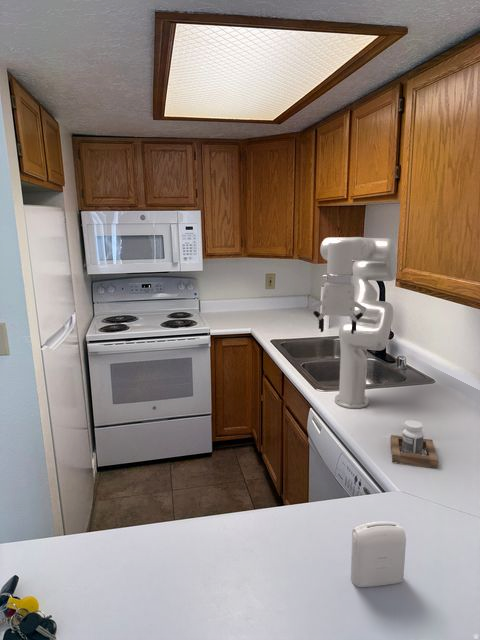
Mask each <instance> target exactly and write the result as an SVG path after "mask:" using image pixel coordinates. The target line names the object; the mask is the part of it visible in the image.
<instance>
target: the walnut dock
mask: <svg viewBox="0 0 480 640" xmlns="http://www.w3.org/2000/svg"><path fill="white" fill-rule="evenodd" d="M402 440H403V435H394V434H391V435H390V440H389V441H390V442H389V443H390V450H391V454H392V455H391V462H392V463H393V462H397V463H396V464H400V463H402V464H401V465H407V464H408V465H409V466H415V467H424V468H431V469H438V466H439V465H438V464H439V459H438V456H437V452H436V447H435V444H434V442H433V439H430V438H429V439H428V438H423V450H424V451H425V453H426V455H425V454H422V455H419V454H411V453H403V452H402V451H401V452H400V447H401V448H402Z"/></svg>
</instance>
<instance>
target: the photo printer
mask: <svg viewBox="0 0 480 640" xmlns="http://www.w3.org/2000/svg"><path fill="white" fill-rule="evenodd" d="M406 545H407V537H406V531H405V529H404V528H403V526H402V524H400V523H398V522H392V521H373V522H368V523H364V524H360V525H358V526H356V527H354V528H353V529H352V533H351V557H350V558H351V560H350V580H351V582H352V584H354V585H355V586H356V587H357V588H359V587H360V588H369V587H379V586H389V585H394V584H399V583H402V582H403V581H404V575H405V574H404V573H405V562H406V561H405V560H406V547H407V546H406Z"/></svg>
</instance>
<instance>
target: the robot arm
mask: <svg viewBox="0 0 480 640" xmlns="http://www.w3.org/2000/svg"><path fill="white" fill-rule="evenodd" d="M319 252H320V254H321V255H320V256H321V257H322V258H323V259H324V260H325V261H327V267H326V271H327V272H326V274H324V275H322V278H321V279H322V280H325V281H326V282H325V283H324V285H323V287H322V295H321V296H322V297H321V300H320V301H318V302H316V303H313V304H311V306H310V310H311V311H312V312H313V315H314V316H315V317H316V318H317V319H318V329H319V330H320V333H323V332H324V330H325V329H324V328H325V319H324V318H325V316H334V317H335V316H336V317H349V319H350V321H345V322H343V323H342V324H341V325H340V326H339V330H338V337H339V339H338V340H339V347H340V349H339V350H340V359H339V360H340V362H339V384H338V385H339V389H338V394H336V396H334V402H335V403H336V404H337V405H338V406H340V407H343V408H346V409H361V408H365V407H367V406H368V405H369V403H370V402H369V398H368V397H367V396H365V395H366V379H367V378H366V377H367V357H366V356H367V355H366V354H365V352H364V350H372V351H383V350H385V349H386V347H387V345H388V342H389V339H390V334H391V329H392V325H393V322H394V321H393V320H394V307H393V305H392V304H391V303H390V302H388V301H384V300H383V301H381V300H377V299H378V292H377V290H376V288H375V287H374V286H373V284H372V283H371V282H369V281H377V282H380V281H381V282H391V281H394V280H396V278H397V277H396V273H397V262H398V255H397V248H396V245H395V243H394V241H393V239H391V238H387V237H384V238H383V237H380V238H379V237H375V238H374V237H362V236H352V237H351V236H350V237H346V236H345V237H344V236H343V237H336V236H334V237H332V236H331V237H326V238H324V239H323V241H321V243H320V251H319ZM352 281H353V282H352ZM318 307H321V312H319V311H318V309H317V308H318ZM363 349H364V350H363Z"/></svg>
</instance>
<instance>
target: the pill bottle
mask: <svg viewBox="0 0 480 640" xmlns="http://www.w3.org/2000/svg"><path fill="white" fill-rule="evenodd" d="M404 427H405V428H404V429H403V430H402V436H403V440H402V447H401V452H403V453H411V454H419V455H423V450H424V449H423V439H424V435H425V434H424V432H423V430H422V429H423V424H422V423H421V422H420V421H418V420H412V419H411V420H410V419H409V420H406V421H405V425H404Z"/></svg>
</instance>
